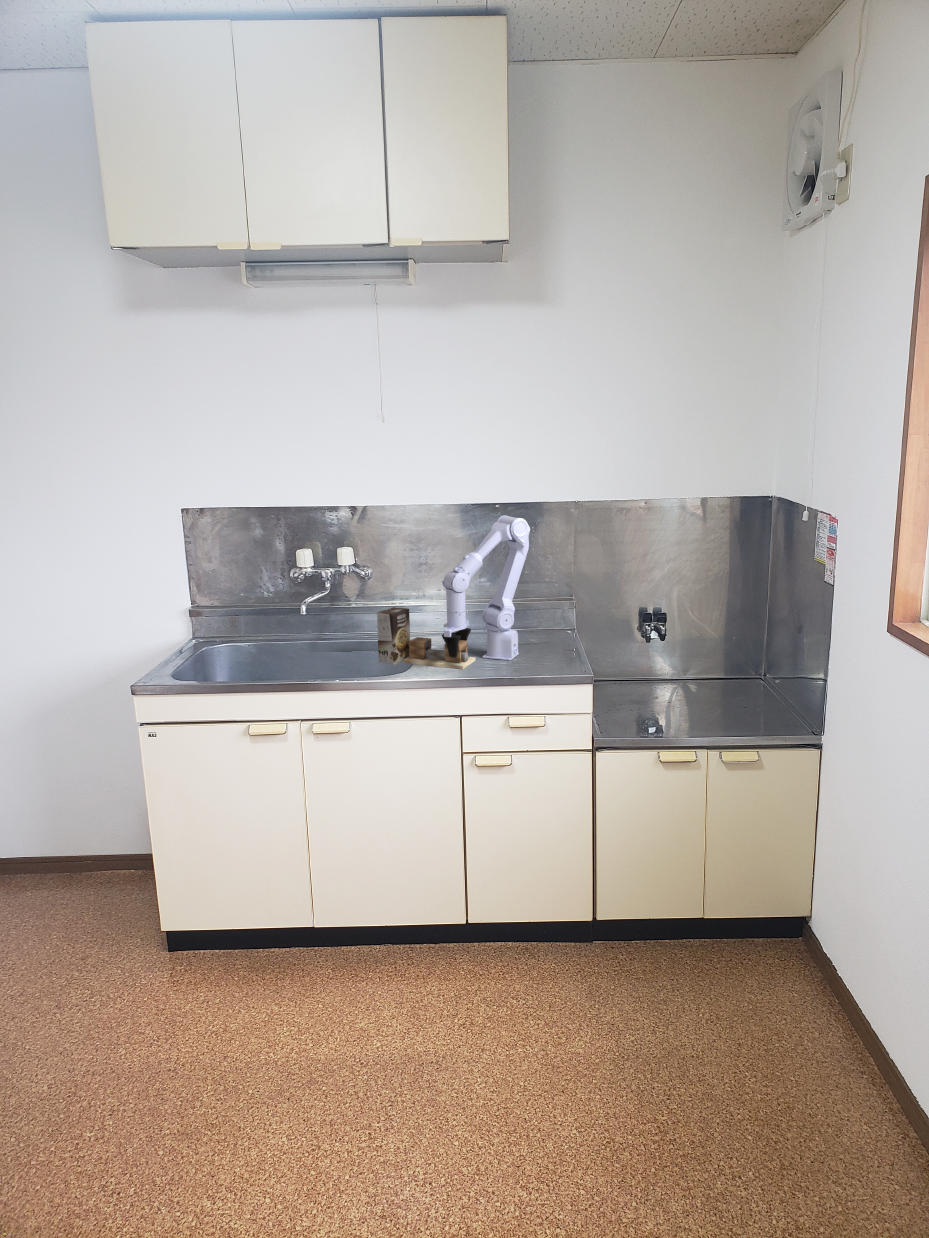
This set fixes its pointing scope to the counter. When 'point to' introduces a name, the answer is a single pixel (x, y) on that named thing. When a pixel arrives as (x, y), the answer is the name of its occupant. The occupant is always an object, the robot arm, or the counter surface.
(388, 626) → the coffee box
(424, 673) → the counter surface
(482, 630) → the counter surface
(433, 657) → the rail board
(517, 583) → the robot arm
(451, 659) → the forked wooden block
